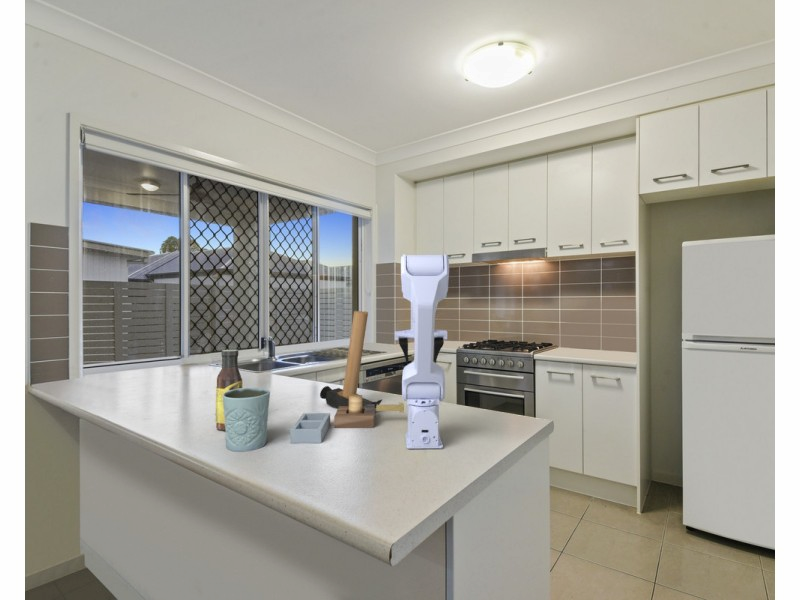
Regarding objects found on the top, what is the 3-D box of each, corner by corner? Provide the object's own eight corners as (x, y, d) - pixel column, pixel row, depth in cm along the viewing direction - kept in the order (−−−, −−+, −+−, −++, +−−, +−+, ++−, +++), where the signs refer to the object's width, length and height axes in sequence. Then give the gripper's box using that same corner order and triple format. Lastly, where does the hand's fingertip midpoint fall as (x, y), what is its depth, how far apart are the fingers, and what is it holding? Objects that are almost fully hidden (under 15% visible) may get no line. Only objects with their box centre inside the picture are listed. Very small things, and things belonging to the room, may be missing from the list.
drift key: (403, 412, 110) (403, 405, 110) (376, 412, 110) (376, 406, 110) (403, 409, 113) (403, 402, 113) (376, 409, 113) (376, 402, 113)
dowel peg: (361, 424, 109) (361, 397, 109) (348, 424, 109) (348, 397, 109) (362, 420, 113) (362, 394, 113) (349, 420, 113) (349, 394, 113)
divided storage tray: (320, 443, 95) (320, 429, 95) (290, 443, 95) (290, 430, 95) (330, 424, 109) (330, 413, 109) (303, 424, 109) (303, 413, 109)
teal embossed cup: (254, 434, 101) (254, 385, 101) (279, 444, 95) (279, 391, 94) (213, 446, 93) (213, 392, 93) (237, 457, 87) (237, 399, 87)
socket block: (373, 427, 106) (373, 411, 106) (334, 428, 106) (334, 411, 106) (375, 416, 116) (375, 401, 116) (339, 416, 116) (339, 401, 116)
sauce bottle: (232, 432, 103) (232, 352, 103) (210, 430, 104) (210, 351, 104) (247, 424, 109) (247, 348, 109) (226, 423, 110) (226, 348, 110)
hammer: (379, 418, 122) (394, 318, 119) (369, 422, 118) (384, 319, 115) (330, 397, 133) (342, 305, 130) (318, 400, 129) (331, 305, 126)
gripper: (445, 312, 118) (444, 355, 122) (394, 312, 118) (395, 356, 122) (449, 320, 111) (447, 366, 115) (394, 321, 111) (395, 367, 115)
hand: (420, 362), depth 118 cm, fingers open, 7 cm apart
